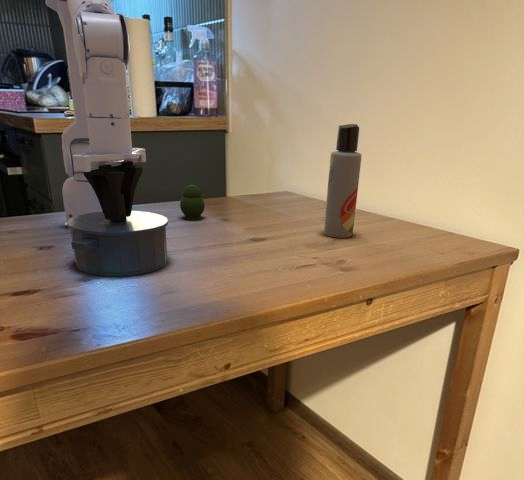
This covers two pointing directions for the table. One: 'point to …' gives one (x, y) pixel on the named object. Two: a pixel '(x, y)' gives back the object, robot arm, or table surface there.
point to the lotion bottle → (343, 183)
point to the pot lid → (117, 222)
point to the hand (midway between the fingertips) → (118, 217)
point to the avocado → (192, 203)
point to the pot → (120, 253)
